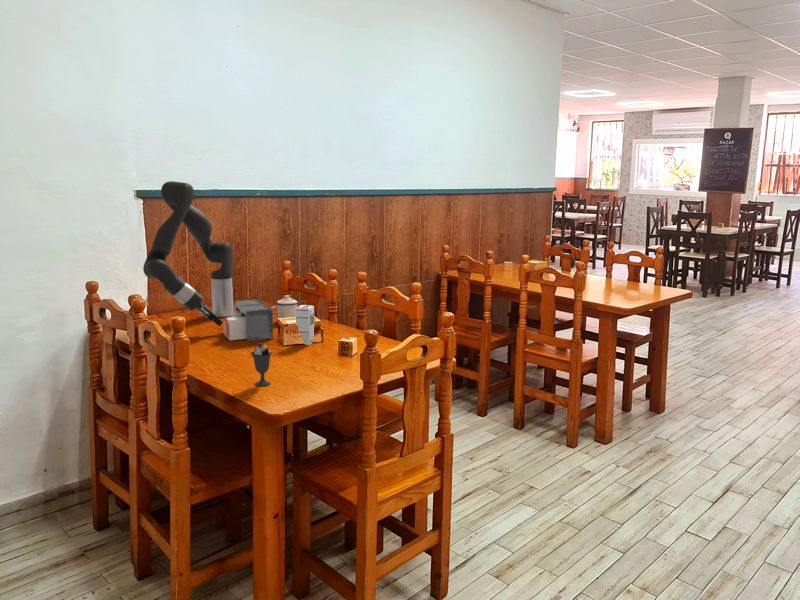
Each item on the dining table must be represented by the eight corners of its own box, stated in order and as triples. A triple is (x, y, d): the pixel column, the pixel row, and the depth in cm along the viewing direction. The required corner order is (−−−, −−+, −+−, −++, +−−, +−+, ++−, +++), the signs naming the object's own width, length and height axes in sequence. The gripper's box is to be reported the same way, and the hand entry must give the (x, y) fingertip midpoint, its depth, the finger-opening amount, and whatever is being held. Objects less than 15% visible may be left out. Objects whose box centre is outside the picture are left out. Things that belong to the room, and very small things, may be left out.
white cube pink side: (224, 337, 256) (223, 317, 254) (247, 335, 260) (246, 316, 258) (226, 340, 251) (225, 320, 250) (250, 338, 255) (249, 318, 253)
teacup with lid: (295, 318, 291) (295, 293, 289) (299, 323, 283) (299, 297, 280) (269, 320, 287) (268, 294, 285) (272, 325, 279) (271, 298, 277)
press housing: (235, 328, 272) (234, 300, 269) (259, 326, 276) (258, 298, 274) (247, 341, 251) (246, 311, 249) (273, 339, 256) (272, 309, 253)
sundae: (253, 380, 205) (251, 334, 202) (274, 380, 205) (273, 334, 203) (250, 387, 198) (248, 340, 196) (272, 387, 199) (270, 340, 196)
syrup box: (310, 345, 247) (309, 308, 244) (295, 344, 248) (295, 307, 246) (315, 341, 253) (314, 305, 250) (301, 340, 254) (300, 304, 251)
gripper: (197, 292, 250) (230, 320, 257) (192, 286, 261) (224, 314, 269) (183, 306, 248) (217, 334, 256) (179, 300, 260) (211, 327, 268)
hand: (220, 324), depth 262 cm, fingers closed
